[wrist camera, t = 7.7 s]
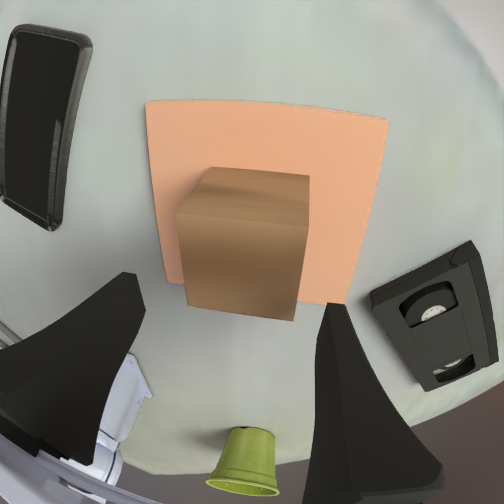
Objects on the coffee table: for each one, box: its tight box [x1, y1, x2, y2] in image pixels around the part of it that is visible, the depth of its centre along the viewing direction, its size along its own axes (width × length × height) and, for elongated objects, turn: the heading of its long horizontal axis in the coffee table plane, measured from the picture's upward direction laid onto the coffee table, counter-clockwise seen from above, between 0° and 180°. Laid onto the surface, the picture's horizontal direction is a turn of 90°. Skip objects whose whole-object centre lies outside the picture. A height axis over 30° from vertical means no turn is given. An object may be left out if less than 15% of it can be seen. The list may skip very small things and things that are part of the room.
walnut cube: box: [175, 167, 310, 321], centre depth 15 cm, size 5×5×5 cm
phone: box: [0, 24, 93, 231], centre depth 16 cm, size 8×1×15 cm
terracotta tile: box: [145, 100, 389, 305], centre depth 17 cm, size 12×12×1 cm
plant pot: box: [206, 427, 279, 496], centre depth 34 cm, size 9×9×9 cm
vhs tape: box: [370, 240, 499, 392], centre depth 20 cm, size 14×8×2 cm, turn 40°
